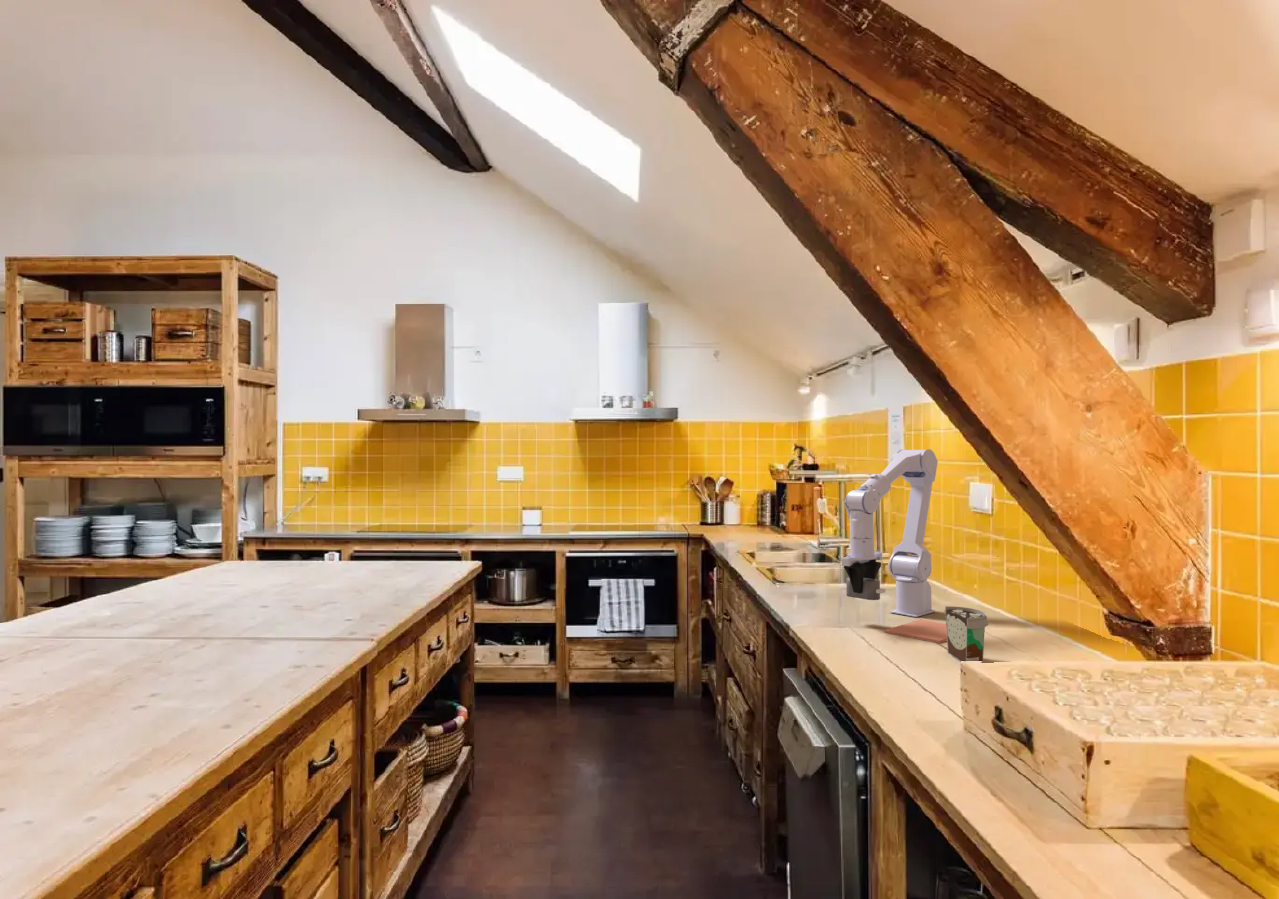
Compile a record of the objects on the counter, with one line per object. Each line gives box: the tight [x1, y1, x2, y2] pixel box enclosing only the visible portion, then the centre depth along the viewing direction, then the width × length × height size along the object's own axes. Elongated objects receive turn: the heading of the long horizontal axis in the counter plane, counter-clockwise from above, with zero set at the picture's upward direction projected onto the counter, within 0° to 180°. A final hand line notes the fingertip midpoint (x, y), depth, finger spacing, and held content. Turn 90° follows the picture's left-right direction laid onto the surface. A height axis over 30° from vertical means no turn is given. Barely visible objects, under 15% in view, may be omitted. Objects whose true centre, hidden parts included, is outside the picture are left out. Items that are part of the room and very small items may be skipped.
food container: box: [944, 605, 989, 663], centre depth 155 cm, size 12×6×10 cm, turn 179°
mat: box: [884, 619, 947, 644], centre depth 178 cm, size 16×14×1 cm
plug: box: [845, 576, 886, 601], centre depth 186 cm, size 4×10×4 cm, turn 39°
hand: (863, 591), depth 187 cm, fingers closed on plug, 4 cm apart
